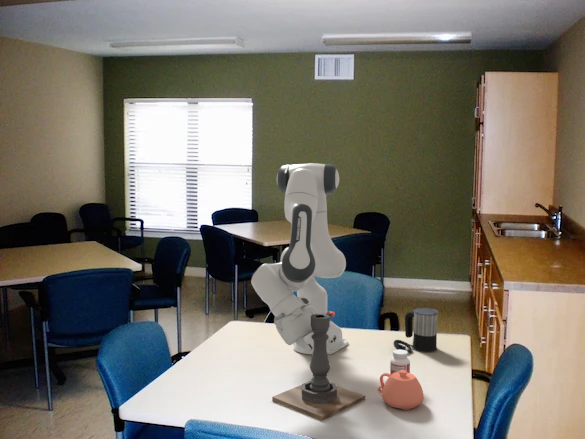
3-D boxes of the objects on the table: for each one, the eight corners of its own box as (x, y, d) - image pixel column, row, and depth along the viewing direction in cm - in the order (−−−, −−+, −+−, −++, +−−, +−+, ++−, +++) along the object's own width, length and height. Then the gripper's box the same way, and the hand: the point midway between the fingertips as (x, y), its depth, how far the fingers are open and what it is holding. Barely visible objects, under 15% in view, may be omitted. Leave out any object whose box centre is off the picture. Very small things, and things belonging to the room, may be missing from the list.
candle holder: (329, 401, 184) (329, 319, 181) (308, 400, 185) (308, 318, 182) (331, 393, 190) (331, 313, 187) (311, 391, 191) (311, 313, 188)
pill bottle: (402, 380, 204) (402, 347, 203) (413, 386, 199) (414, 353, 197) (386, 383, 202) (386, 350, 200) (397, 389, 196) (398, 356, 195)
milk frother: (441, 347, 237) (442, 309, 235) (425, 359, 224) (426, 319, 222) (406, 341, 244) (406, 304, 243) (389, 352, 231) (390, 313, 229)
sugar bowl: (414, 416, 177) (415, 381, 176) (369, 405, 185) (370, 372, 183) (429, 401, 188) (430, 368, 186) (386, 391, 195) (386, 360, 194)
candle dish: (316, 382, 202) (316, 369, 202) (365, 399, 189) (365, 386, 188) (272, 400, 188) (272, 387, 187) (322, 420, 174) (322, 406, 174)
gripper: (278, 312, 180) (308, 350, 176) (310, 296, 197) (338, 331, 194) (265, 325, 182) (294, 362, 179) (297, 308, 200) (325, 342, 197)
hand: (317, 346), depth 187 cm, fingers open, 8 cm apart
